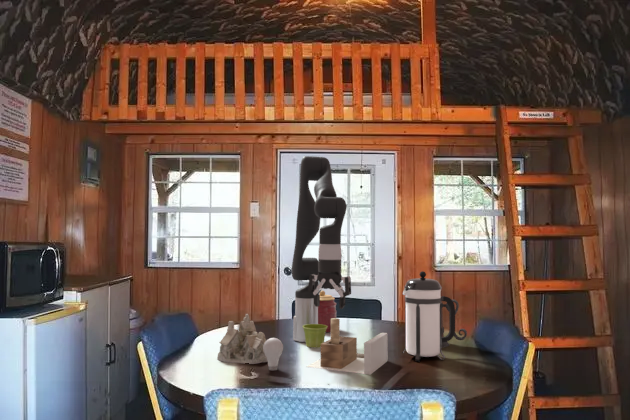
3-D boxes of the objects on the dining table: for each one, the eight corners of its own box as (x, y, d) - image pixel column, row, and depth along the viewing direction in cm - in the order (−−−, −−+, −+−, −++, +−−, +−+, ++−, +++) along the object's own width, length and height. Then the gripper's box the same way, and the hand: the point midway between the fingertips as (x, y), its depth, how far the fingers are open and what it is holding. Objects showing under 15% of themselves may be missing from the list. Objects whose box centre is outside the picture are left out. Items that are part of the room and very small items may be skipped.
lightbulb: (263, 371, 161) (263, 336, 162) (282, 371, 162) (283, 335, 162) (262, 377, 155) (263, 340, 156) (283, 376, 156) (283, 339, 156)
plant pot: (330, 348, 195) (330, 324, 195) (322, 353, 186) (322, 329, 187) (307, 346, 198) (307, 323, 199) (298, 351, 189) (298, 327, 190)
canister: (341, 329, 233) (342, 290, 234) (327, 334, 222) (327, 292, 223) (317, 326, 240) (317, 288, 241) (302, 330, 229) (302, 290, 230)
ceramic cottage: (213, 356, 181) (216, 313, 181) (258, 353, 188) (261, 312, 188) (225, 369, 167) (229, 323, 167) (273, 366, 174) (276, 321, 174)
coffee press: (440, 365, 170) (439, 273, 171) (394, 359, 178) (394, 271, 180) (455, 355, 184) (455, 270, 186) (413, 349, 193) (413, 268, 194)
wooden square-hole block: (320, 366, 162) (320, 343, 162) (337, 356, 175) (337, 335, 175) (341, 369, 159) (341, 346, 159) (356, 359, 172) (356, 337, 172)
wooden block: (357, 363, 176) (355, 359, 174) (359, 355, 177) (357, 351, 175) (386, 366, 171) (384, 362, 170) (387, 358, 173) (385, 354, 171)
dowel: (329, 357, 163) (329, 319, 164) (332, 355, 166) (332, 318, 166) (337, 358, 162) (337, 320, 162) (340, 356, 164) (340, 318, 165)
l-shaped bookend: (306, 371, 162) (306, 337, 162) (328, 358, 178) (328, 328, 179) (370, 379, 153) (370, 343, 154) (387, 365, 170) (387, 333, 170)
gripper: (305, 257, 169) (304, 307, 169) (346, 259, 163) (345, 311, 163) (314, 256, 176) (314, 304, 176) (354, 257, 170) (353, 307, 170)
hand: (329, 307), depth 169 cm, fingers open, 8 cm apart
